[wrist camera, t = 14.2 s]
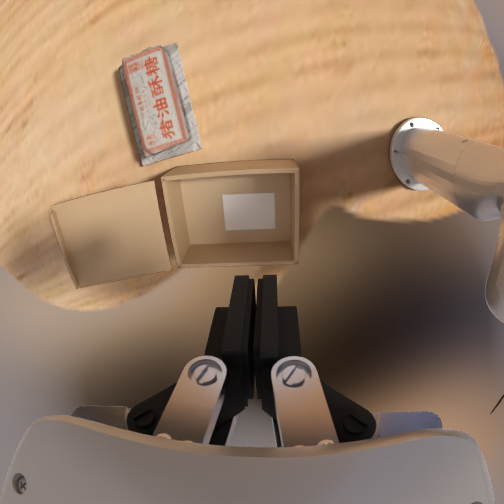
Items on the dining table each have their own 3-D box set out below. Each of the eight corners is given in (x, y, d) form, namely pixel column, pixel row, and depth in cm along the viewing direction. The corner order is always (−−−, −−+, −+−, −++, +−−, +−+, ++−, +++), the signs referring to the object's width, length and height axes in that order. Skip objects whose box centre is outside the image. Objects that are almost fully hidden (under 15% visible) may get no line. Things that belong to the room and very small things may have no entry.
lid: (48, 209, 29) (53, 205, 30) (77, 293, 35) (80, 286, 37) (153, 183, 32) (154, 180, 34) (172, 274, 39) (171, 268, 40)
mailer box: (293, 159, 39) (299, 168, 33) (293, 242, 46) (298, 264, 40) (175, 166, 40) (160, 177, 34) (188, 246, 47) (177, 267, 41)
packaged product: (107, 62, 28) (169, 36, 27) (121, 66, 32) (178, 43, 31) (134, 171, 36) (197, 152, 35) (146, 164, 41) (203, 148, 39)
